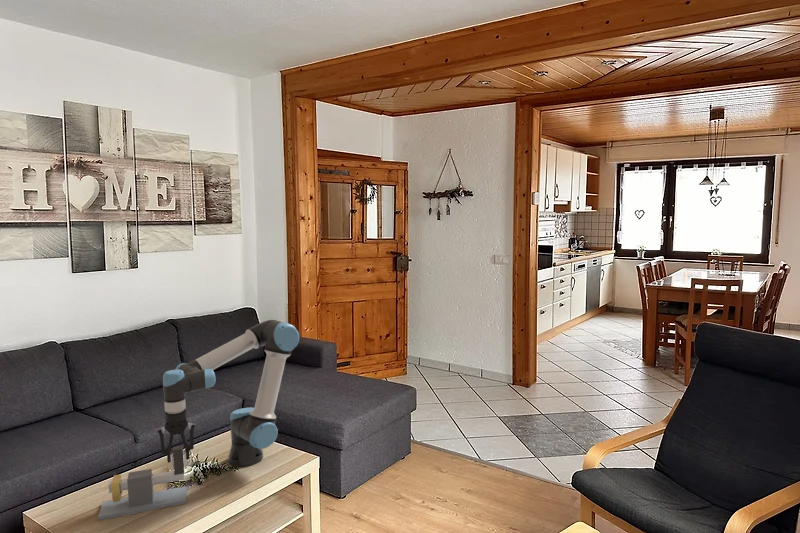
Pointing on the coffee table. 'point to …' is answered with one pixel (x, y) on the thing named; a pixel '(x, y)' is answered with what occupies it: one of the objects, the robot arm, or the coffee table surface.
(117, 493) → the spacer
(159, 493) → the bracket
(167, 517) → the coffee table surface
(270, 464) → the coffee table surface
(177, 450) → the shaft
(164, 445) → the robot arm
